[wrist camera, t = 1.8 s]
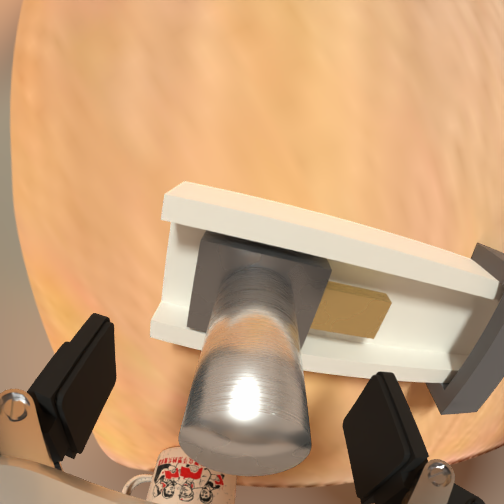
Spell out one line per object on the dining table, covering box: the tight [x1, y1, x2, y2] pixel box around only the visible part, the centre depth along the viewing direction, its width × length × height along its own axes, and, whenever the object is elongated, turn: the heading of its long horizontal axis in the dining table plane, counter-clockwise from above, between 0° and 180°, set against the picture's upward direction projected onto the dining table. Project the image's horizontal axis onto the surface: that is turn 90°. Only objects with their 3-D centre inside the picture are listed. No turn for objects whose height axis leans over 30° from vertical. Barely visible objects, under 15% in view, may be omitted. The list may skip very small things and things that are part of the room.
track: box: [150, 181, 504, 415], centre depth 16 cm, size 24×10×6 cm, turn 77°
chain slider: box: [179, 230, 392, 476], centre depth 12 cm, size 10×5×10 cm, turn 77°
